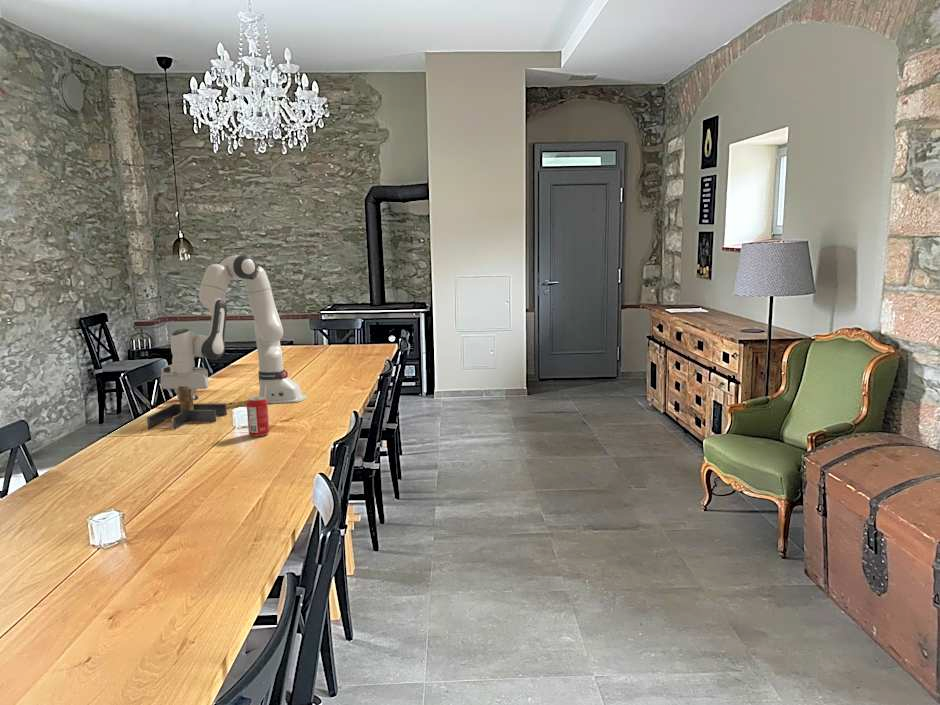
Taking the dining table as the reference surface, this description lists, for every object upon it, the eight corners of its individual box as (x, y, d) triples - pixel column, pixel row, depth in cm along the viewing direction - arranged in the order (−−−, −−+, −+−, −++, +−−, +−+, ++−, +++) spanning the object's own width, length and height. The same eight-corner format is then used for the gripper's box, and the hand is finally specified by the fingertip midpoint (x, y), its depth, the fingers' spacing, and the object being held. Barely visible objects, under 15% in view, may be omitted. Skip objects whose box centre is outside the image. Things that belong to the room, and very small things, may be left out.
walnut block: (194, 411, 317) (191, 384, 315) (189, 413, 313) (187, 386, 311) (185, 411, 317) (182, 384, 315) (180, 413, 314) (178, 386, 312)
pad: (181, 423, 308) (181, 422, 308) (172, 428, 300) (172, 427, 300) (163, 423, 309) (163, 422, 309) (153, 428, 301) (153, 427, 301)
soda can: (248, 438, 284) (246, 401, 281) (249, 433, 291) (246, 396, 289) (269, 436, 286) (267, 399, 283) (269, 431, 293) (267, 395, 291)
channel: (226, 414, 321) (225, 403, 320) (204, 429, 298) (203, 417, 297) (174, 414, 323) (173, 403, 322) (147, 429, 300) (146, 417, 299)
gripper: (210, 365, 314) (212, 397, 317) (164, 366, 316) (167, 397, 318) (204, 368, 308) (206, 400, 311) (157, 368, 310) (160, 400, 312)
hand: (186, 398), depth 314 cm, fingers closed on walnut block, 4 cm apart
